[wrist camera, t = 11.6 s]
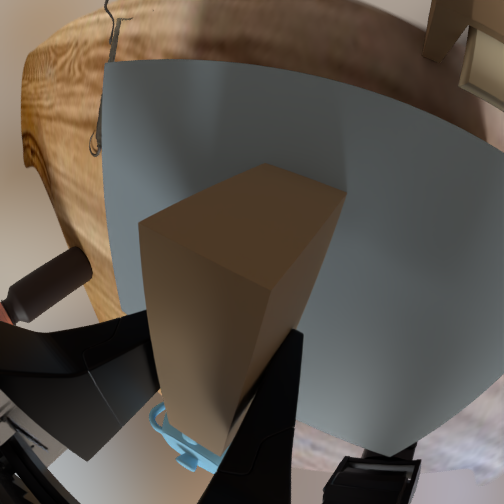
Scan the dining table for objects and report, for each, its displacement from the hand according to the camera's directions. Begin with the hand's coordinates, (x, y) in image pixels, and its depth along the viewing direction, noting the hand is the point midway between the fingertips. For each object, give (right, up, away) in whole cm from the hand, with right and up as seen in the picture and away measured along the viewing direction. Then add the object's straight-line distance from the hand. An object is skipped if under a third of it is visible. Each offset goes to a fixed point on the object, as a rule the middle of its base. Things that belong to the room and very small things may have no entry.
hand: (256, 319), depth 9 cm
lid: (+1, +1, +2) cm, 2 cm away
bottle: (-31, 0, +37) cm, 48 cm away
